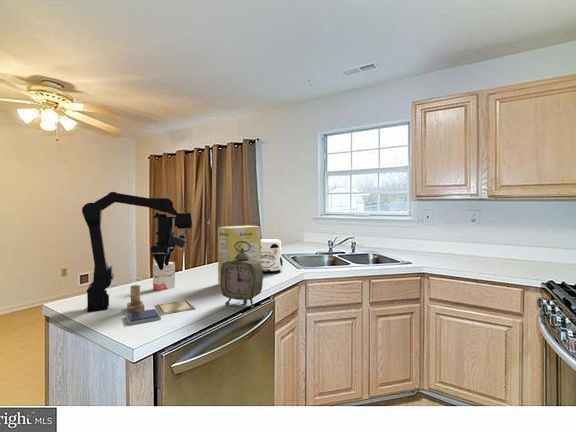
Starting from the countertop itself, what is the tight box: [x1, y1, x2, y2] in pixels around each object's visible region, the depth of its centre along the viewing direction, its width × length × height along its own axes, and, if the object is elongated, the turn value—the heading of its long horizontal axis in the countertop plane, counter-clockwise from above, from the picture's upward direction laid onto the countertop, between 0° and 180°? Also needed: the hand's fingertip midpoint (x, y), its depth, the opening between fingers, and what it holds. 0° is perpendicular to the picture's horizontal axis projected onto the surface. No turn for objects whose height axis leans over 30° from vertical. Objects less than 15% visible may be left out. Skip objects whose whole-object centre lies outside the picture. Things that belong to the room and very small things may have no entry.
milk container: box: [261, 238, 284, 273], centre depth 185 cm, size 17×17×18 cm
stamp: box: [126, 284, 145, 313], centre depth 118 cm, size 5×7×9 cm
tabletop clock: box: [220, 241, 264, 310], centre depth 123 cm, size 14×9×25 cm, turn 71°
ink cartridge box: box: [152, 258, 176, 292], centre depth 148 cm, size 9×5×15 cm, turn 145°
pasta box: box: [217, 225, 262, 286], centre depth 158 cm, size 18×10×28 cm, turn 134°
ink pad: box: [125, 308, 162, 326], centre depth 109 cm, size 10×9×1 cm
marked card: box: [155, 299, 196, 316], centre depth 120 cm, size 12×12×1 cm
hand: (164, 267), depth 129 cm, fingers open, 9 cm apart
